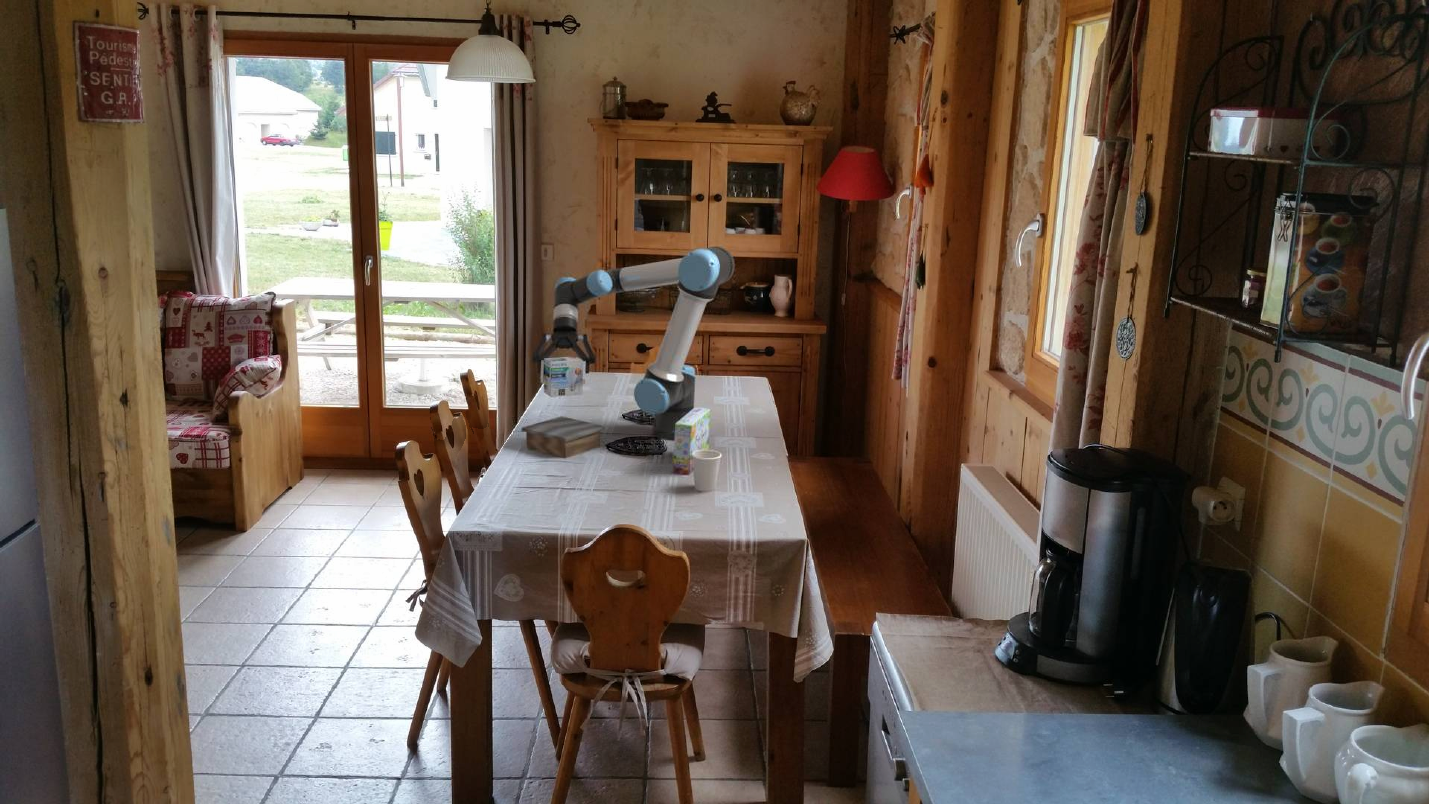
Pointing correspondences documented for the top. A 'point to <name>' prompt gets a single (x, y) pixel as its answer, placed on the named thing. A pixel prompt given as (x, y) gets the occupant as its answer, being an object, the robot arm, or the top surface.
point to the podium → (563, 436)
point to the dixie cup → (705, 469)
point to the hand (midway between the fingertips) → (562, 381)
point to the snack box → (690, 438)
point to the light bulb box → (563, 376)
